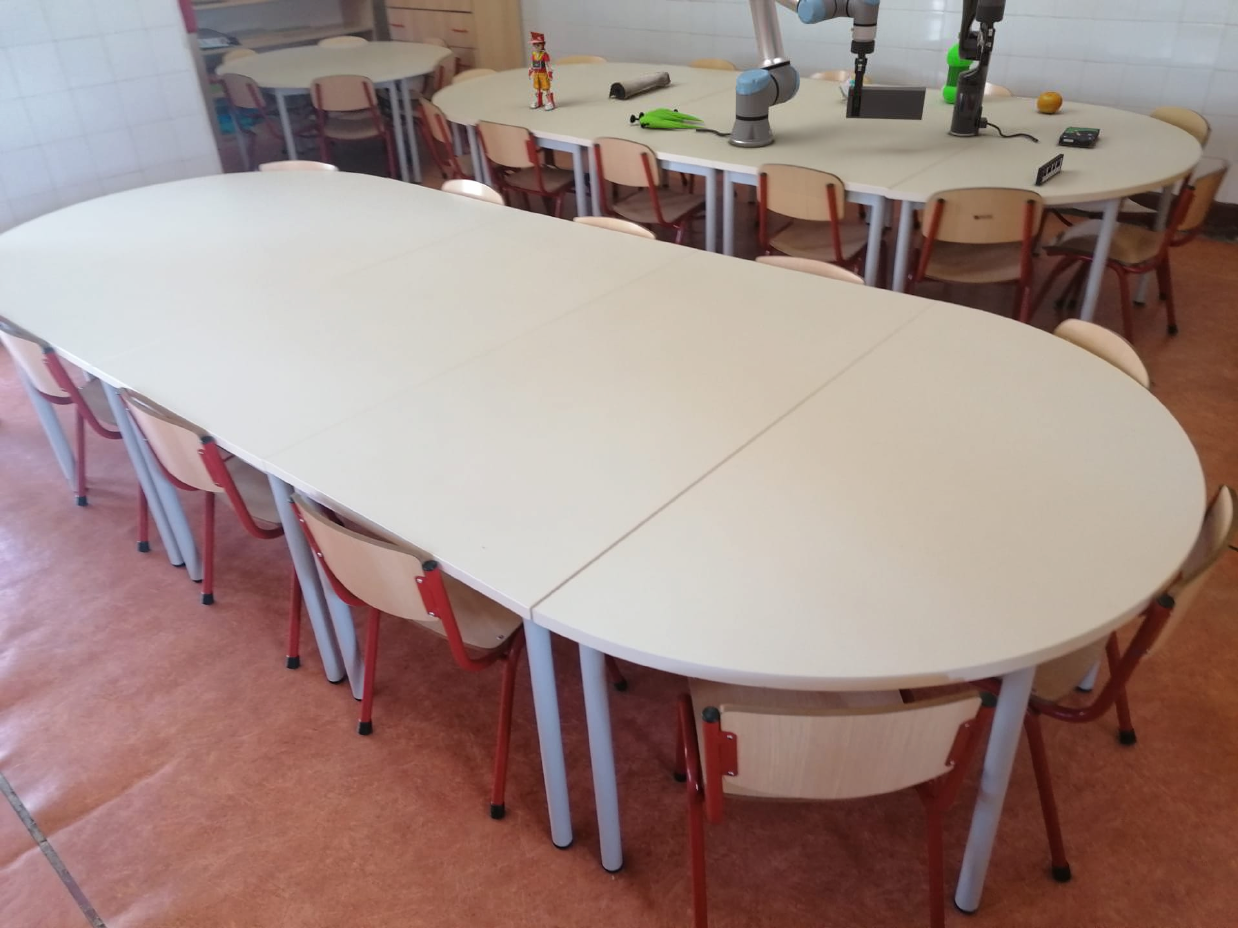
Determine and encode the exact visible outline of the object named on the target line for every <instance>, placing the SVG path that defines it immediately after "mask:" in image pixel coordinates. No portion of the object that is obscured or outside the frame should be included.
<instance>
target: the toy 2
mask: <svg viewBox="0 0 1238 928" xmlns="http://www.w3.org/2000/svg"><path fill="white" fill-rule="evenodd" d="M636 121H638V123H639V125H640V128H641V129H645V128H653V129H657V128H661V129H705V127H704V126H699V125H694V124H687V123H683V121H693V122H705V121H704V120H702V119H700V118H698V117H695V116H692V115H689V114H685V113H682V112H679V110H678V109H677V108H674V109H673V110H671V109H668V108H664V107H663V108H657V109H653V110H649V111H647V112H646V113H644V112H643V111H640V112H639V115H638V117H636V115H635V114H631V115H630V118H629V123H630V124H634V123H635V122H636Z"/></svg>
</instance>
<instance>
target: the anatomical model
mask: <svg viewBox="0 0 1238 928" xmlns="http://www.w3.org/2000/svg"><path fill="white" fill-rule="evenodd" d="M854 83H855V79H853V78H852V77H851V76H849V77H847V79H846V80H845V81H843V82H840V83H839V84H838V85H839V86H838V88H839V90H840V93H841V95H842V98H844V99H848V90H849V86H854Z"/></svg>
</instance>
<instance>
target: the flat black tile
mask: <svg viewBox="0 0 1238 928" xmlns="http://www.w3.org/2000/svg"><path fill="white" fill-rule="evenodd" d="M1064 157H1065V153H1059V154H1058V155H1056V156H1055V157H1052V159H1051V160H1049V161H1047V162H1045V164H1042V165H1041V166H1039V167H1038V169H1037V175H1036V179H1035V186H1040V185H1042V183H1044V182H1045V181H1047V180H1048V179H1049V178H1051V177H1052V176H1054V175H1055V174H1056V173H1058V172H1060V171H1061V170H1062V165H1063V161H1064Z"/></svg>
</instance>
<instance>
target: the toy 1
mask: <svg viewBox="0 0 1238 928" xmlns="http://www.w3.org/2000/svg"><path fill="white" fill-rule="evenodd" d="M529 33H530V35H531V36H528V37H527V38H528V39H529V40H528V41H527V43H529V44H530V43H531V44H532V48H533V50H534V51H533V52H532V55H531V58H530V59H531V63H530V66H528V74H527V75H528V76H527V77H528V79H529V80H531V75H532V74H533V84H532V85H533V86H532V87H533V88H534V89H535V90H536V92H534V95H535V97H536V100H535V101H533V102H531V105H530V108H531V109H535V108H538V107H542V106H544V101H543V100H544V99H543V95H544V92H546V94H545V97H546V99H547V103H546V104H545V106H544V110H546V111H549V110H553V109H554V107H555V106H556V105H555V99H554V92H551V91H550V90H551V86H552V84H551V82H552V81H553V80H554V77H553V73H554V71H555V70H554V69H552V68H551V63H550V61H551V59H550V58H551V57H550V54H549V53H548V52H547V50H546V48H545V46H546V44H547V41H545V35H544V33H543V32H542V33H539V32H535V31H529Z"/></svg>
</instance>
